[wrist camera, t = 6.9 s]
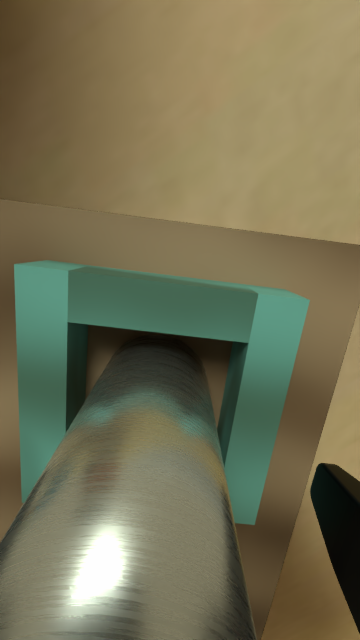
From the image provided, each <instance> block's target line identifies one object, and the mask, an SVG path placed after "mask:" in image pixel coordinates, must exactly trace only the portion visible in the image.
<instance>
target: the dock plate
mask: <svg viewBox="0 0 360 640" xmlns="http://www.w3.org/2000/svg"><path fill="white" fill-rule="evenodd" d="M359 304H360V245H356V244H348V243H340V242H332V241H325V240H317V239H309V238H301V237H293V236H286V235H278V234H270V233H262V232H254V231H247V230H239V229H231V228H223V227H215V226H208V225H200V224H192V223H184V222H176V221H169V220H161V219H153V218H145V217H137V216H130V215H122V214H114V213H106V212H98V211H91V210H83V209H75V208H67V207H59V206H52V205H44V204H36V203H28V202H20V201H13V200H5V199H0V542H1V541H2V539H3V537H4V536H5V534H6V532H7V531H8V529H9V527H10V526H11V524H12V522H13V521H14V519H15V517H16V516H17V514H18V512H19V511H20V509H21V507H22V506H23V504H24V502H25V501H26V499H27V497H28V496H29V494H30V492H31V491H32V489H33V487H34V486H35V484H36V482H37V481H38V479H39V477H40V476H41V474H42V472H43V471H44V469H45V467H46V466H47V464H48V462H49V460H50V459H51V457H52V455H53V454H54V452H55V450H56V449H57V447H58V445H59V444H60V442H61V440H62V439H63V437H64V435H65V434H66V432H67V430H68V429H69V427H70V425H71V424H72V422H73V420H74V419H75V417H76V415H77V414H78V412H79V410H80V409H81V407H82V405H83V404H84V402H85V400H86V399H87V397H88V395H89V394H90V392H91V390H92V389H93V387H94V385H95V384H96V382H97V380H98V379H99V377H100V375H101V374H102V372H103V370H104V369H105V367H106V365H107V364H108V362H109V360H110V359H111V357H112V355H113V354H114V353H115V352H116V351H117V350H118V349H119V348H120V347H121V346H122V345H124V344H125V343H127V342H128V341H130V340H132V339H135V338H138V337H141V336H146V335H163V336H168V337H171V338H175V339H177V340H179V341H181V342H183V343H185V344H186V345H188V346H189V347H190V348H191V349H192V350H193V351H194V352H195V353H196V354H197V355H198V356H199V358H200V359H201V361H202V363H203V365H204V368H205V370H206V375H207V380H208V385H209V390H210V396H211V401H212V406H213V411H214V417H215V422H216V427H217V433H218V438H219V443H220V448H221V454H222V459H223V464H224V469H225V475H226V480H227V485H228V490H229V496H230V501H231V506H232V512H233V517H234V522H235V527H236V533H237V538H238V543H239V548H240V554H241V559H242V564H243V569H244V575H245V580H246V585H247V591H248V596H249V601H250V606H251V612H252V617H253V622H254V627H255V633H256V638H257V640H261V637H262V634H263V630H264V627H265V624H266V620H267V617H268V613H269V610H270V607H271V603H272V600H273V596H274V593H275V590H276V586H277V583H278V580H279V576H280V573H281V569H282V566H283V563H284V559H285V556H286V552H287V549H288V546H289V542H290V539H291V535H292V532H293V529H294V525H295V522H296V518H297V515H298V512H299V508H300V505H301V501H302V498H303V495H304V491H305V488H306V484H307V481H308V478H309V474H310V471H311V467H312V464H313V461H314V457H315V454H316V450H317V447H318V444H319V440H320V437H321V433H322V430H323V427H324V423H325V420H326V416H327V413H328V410H329V406H330V403H331V400H332V396H333V393H334V389H335V386H336V383H337V379H338V376H339V372H340V369H341V366H342V362H343V359H344V355H345V352H346V349H347V345H348V342H349V338H350V335H351V332H352V328H353V325H354V321H355V318H356V315H357V311H358V308H359Z"/></svg>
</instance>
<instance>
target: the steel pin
mask: <svg viewBox="0 0 360 640" xmlns="http://www.w3.org/2000/svg"><path fill="white" fill-rule="evenodd" d="M0 640H257V638H256V633H255V627H254V622H253V617H252V612H251V606H250V601H249V596H248V591H247V585H246V580H245V575H244V569H243V564H242V559H241V554H240V548H239V543H238V538H237V533H236V527H235V522H234V517H233V512H232V506H231V501H230V496H229V490H228V485H227V480H226V475H225V469H224V464H223V459H222V454H221V448H220V443H219V438H218V433H217V427H216V422H215V417H214V411H213V406H212V401H211V396H210V390H209V385H208V380H207V375H206V370H205V368H204V365H203V363H202V361H201V359H200V358H199V356H198V355H197V354H196V353H195V352H194V351H193V350H192V349H191V348H190V347H189V346H188V345H186V344H185V343H183V342H181V341H179V340H177V339H175V338H171V337H168V336H163V335H146V336H141V337H138V338H135V339H132V340H130V341H128V342H127V343H125V344H124V345H122V346H121V347H120V348H119V349H118V350H117V351H116V352H115V353H114V354H113V355H112V357H111V359H110V360H109V362H108V364H107V365H106V367H105V369H104V370H103V372H102V374H101V375H100V377H99V379H98V380H97V382H96V384H95V385H94V387H93V389H92V390H91V392H90V394H89V395H88V397H87V399H86V400H85V402H84V404H83V405H82V407H81V409H80V410H79V412H78V414H77V415H76V417H75V419H74V420H73V422H72V424H71V425H70V427H69V429H68V430H67V432H66V434H65V435H64V437H63V439H62V440H61V442H60V444H59V445H58V447H57V449H56V450H55V452H54V454H53V455H52V457H51V459H50V460H49V462H48V464H47V466H46V467H45V469H44V471H43V472H42V474H41V476H40V477H39V479H38V481H37V482H36V484H35V486H34V487H33V489H32V491H31V492H30V494H29V496H28V497H27V499H26V501H25V502H24V504H23V506H22V507H21V509H20V511H19V512H18V514H17V516H16V517H15V519H14V521H13V522H12V524H11V526H10V527H9V529H8V531H7V532H6V534H5V536H4V537H3V539H2V541H1V542H0Z"/></svg>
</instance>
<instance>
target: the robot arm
mask: <svg viewBox="0 0 360 640" xmlns="http://www.w3.org/2000/svg"><path fill="white" fill-rule="evenodd" d="M310 493H311V499H312V503H313V506H314V509H315V512H316V516H317V519H318V522H319V525H320V528H321V531H322V535H323V538H324V541H325V544H326V547H327V551H328V554H329V557H330V560H331V563H332V566H333V569H334V571H335V574H336V576H337V579H338V582H339V584H340V587H341V589H342V591H343V594H344V596H345V599H346V601H347V604H348V606H349V609H350V611H351V614H352V616H353V619H354V621H355V623H356V626H357V628H358V631H359V633H360V481H358V480H357V479H356V478H354V477H353V476H351V475H350V474H349V473H347V472H346V471H344V470H343V469H342V468H340V467H339V466H337V465H335V464H327V463H320V464H319V465H318V466H317V468H316V472H315V475H314V479H313V482H312V485H311V491H310Z"/></svg>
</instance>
